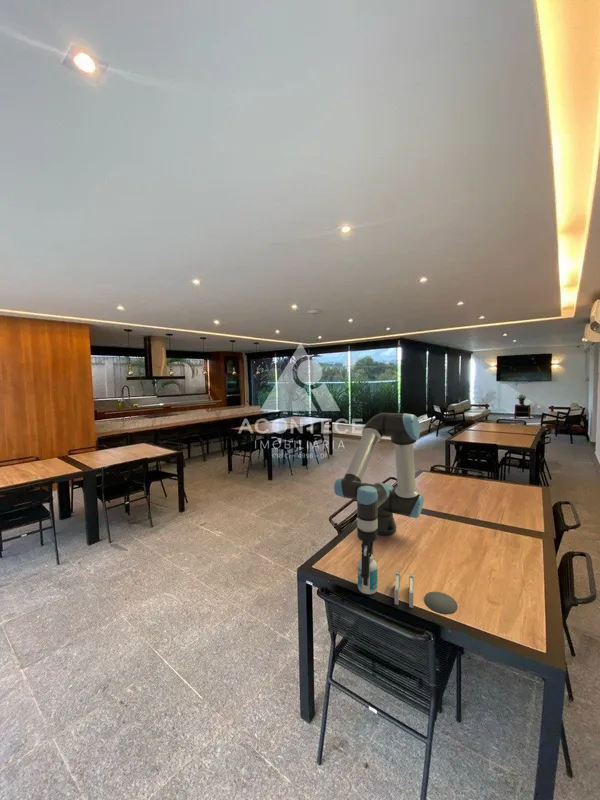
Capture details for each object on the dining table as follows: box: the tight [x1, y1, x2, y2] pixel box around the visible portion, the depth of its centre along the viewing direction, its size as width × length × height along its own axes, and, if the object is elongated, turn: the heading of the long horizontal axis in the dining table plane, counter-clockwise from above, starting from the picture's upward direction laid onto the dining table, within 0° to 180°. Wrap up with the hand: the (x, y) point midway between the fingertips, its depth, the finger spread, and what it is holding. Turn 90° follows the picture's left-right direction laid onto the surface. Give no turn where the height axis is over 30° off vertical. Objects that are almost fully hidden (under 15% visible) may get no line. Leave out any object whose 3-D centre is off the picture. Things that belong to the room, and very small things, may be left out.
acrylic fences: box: [394, 570, 414, 609], centre depth 122 cm, size 11×6×6 cm, turn 161°
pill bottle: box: [357, 553, 378, 595], centre depth 126 cm, size 8×7×14 cm
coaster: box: [423, 591, 458, 615], centre depth 118 cm, size 11×11×1 cm
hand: (367, 584), depth 126 cm, fingers open, 9 cm apart
